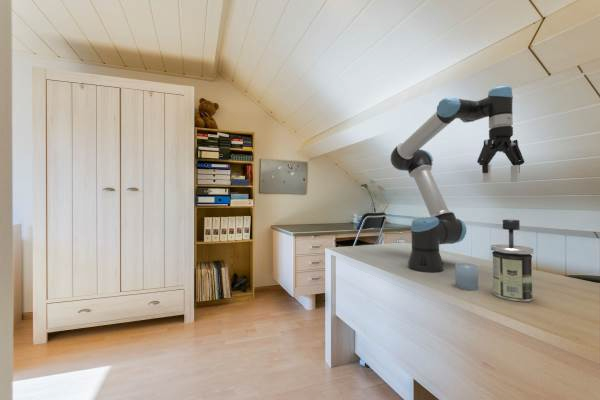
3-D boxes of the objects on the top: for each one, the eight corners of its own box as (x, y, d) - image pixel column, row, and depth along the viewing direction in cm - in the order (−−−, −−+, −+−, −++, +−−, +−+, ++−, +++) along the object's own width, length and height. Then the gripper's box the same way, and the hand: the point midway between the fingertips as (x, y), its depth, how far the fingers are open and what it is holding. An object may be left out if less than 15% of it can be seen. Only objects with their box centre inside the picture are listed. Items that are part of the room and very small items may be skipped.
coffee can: (520, 291, 92) (519, 250, 92) (540, 303, 82) (540, 257, 82) (486, 289, 94) (486, 250, 94) (502, 300, 84) (502, 256, 84)
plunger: (482, 248, 92) (482, 219, 92) (508, 247, 95) (507, 218, 95) (514, 255, 81) (514, 221, 81) (542, 253, 84) (542, 220, 84)
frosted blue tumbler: (450, 285, 100) (450, 263, 100) (466, 283, 101) (466, 262, 101) (466, 291, 93) (466, 268, 93) (482, 289, 95) (482, 267, 95)
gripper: (483, 123, 98) (483, 180, 98) (535, 126, 104) (536, 181, 104) (466, 128, 105) (466, 182, 105) (516, 131, 111) (516, 182, 111)
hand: (501, 181), depth 104 cm, fingers open, 13 cm apart
